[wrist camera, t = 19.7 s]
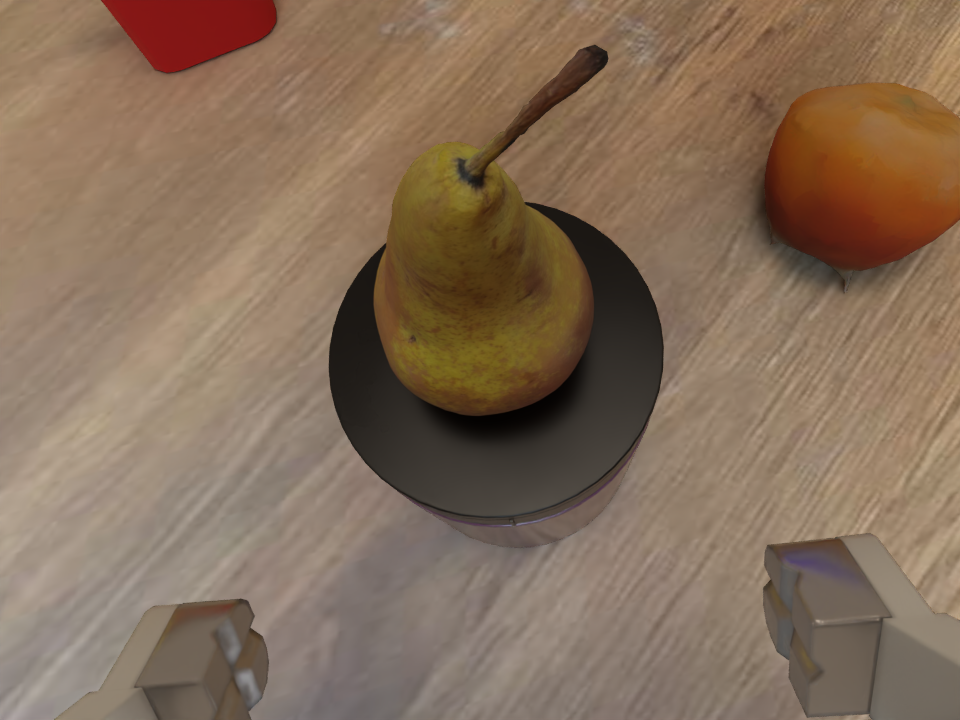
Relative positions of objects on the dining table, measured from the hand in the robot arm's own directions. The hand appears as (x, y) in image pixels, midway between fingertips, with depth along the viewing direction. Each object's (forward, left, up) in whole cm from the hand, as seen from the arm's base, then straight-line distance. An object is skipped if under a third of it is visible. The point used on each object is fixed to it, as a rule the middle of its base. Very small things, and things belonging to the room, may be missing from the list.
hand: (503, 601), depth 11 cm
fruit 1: (+7, 0, -8) cm, 11 cm away
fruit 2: (+15, -16, -19) cm, 29 cm away
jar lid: (+7, 0, -8) cm, 11 cm away
